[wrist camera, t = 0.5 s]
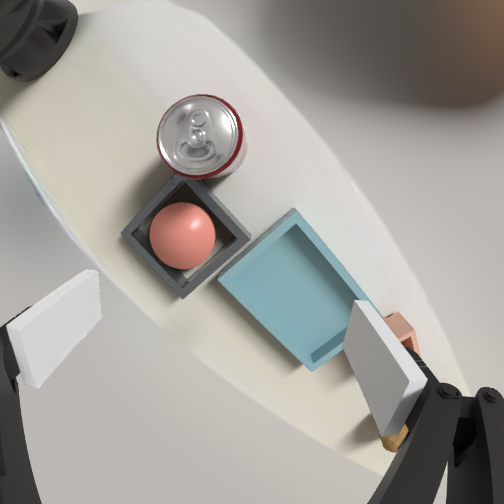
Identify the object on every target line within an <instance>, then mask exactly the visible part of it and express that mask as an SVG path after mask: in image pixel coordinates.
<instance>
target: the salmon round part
mask: <svg viewBox="0 0 504 504" xmlns="http://www.w3.org/2000/svg"><path fill="white" fill-rule="evenodd" d="M215 240H216V231H215V226H214V223H213V221H212V219H211V217H210V216H209V214H208V213H207V212H206V211H205V210H204V209H202V208H201V207H199V206H198V205H195V204H193V203H189V202H178V203H174V204H171V205H168V206H166V207H165V208H163V209H162V210H160V211H159V212H158V213H157V215H156V216H155V218H154V219H153V221H152V224H151V227H150V242H151V245H152V248H153V250H154V252H155V254H156V255H157V256H158V258H159V259H160V260H161V261H163V262H164V263H165V264H167V265H169V266H171V267H174V268H177V269H190V268H193V267H196V266H198V265H200V264H201V263H203V262H204V261H205V260H206V259H207V258H208V256H209V255H210V253H211V251H212V249H213V247H214V245H215Z"/></svg>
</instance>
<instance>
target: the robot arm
mask: <svg viewBox="0 0 504 504" xmlns="http://www.w3.org/2000/svg"><path fill="white" fill-rule="evenodd" d="M77 20H78V13H77V9H76V7H75V6H74V5H73V4H72V3H71V2H70V1H68V0H0V69H1V70H2V71H3V72H4V73H5V74H6V75H7V76H9V77H10V78H12V79H16V80H19V81H29V80H32V79H35V78H37V77H39V76H40V75H42V74H43V73H44V72H46V71H47V70H48V69H49V68H50V67H51V66H52V65H53V64H54V63H55V62H56V61H57V60H58V59H59V58H60V56H61V55H62V54H63V52H64V51H65V49H66V48H67V46H68V45H69V43H70V41H71V39H72V37H73V35H74V32H75V29H76V26H77ZM101 319H102V314H101V304H100V292H99V279H98V271H94V270H88V269H86V270H84V271H83V272H81V273H80V274H78V275H77V276H75V277H74V278H72V279H71V280H69V281H68V282H66V283H65V284H63V285H62V286H60V287H59V288H57V289H56V290H55V291H53V292H52V293H50V294H49V295H47V296H46V297H44V298H43V299H42V300H40V301H39V302H37V303H36V304H35V305H32V306H30V307H27V308H26V309H25V310H23V311H22V312H21V313H19V314H18V315H17V316H16V317H14V318H12V319H11V320H10V321H8V322H7V323H6V324H4V325H3V326H2V327H0V504H42V503H41V500H40V497H39V494H38V490H37V487H36V484H35V480H34V476H33V473H32V469H31V464H30V460H29V456H28V451H27V446H26V441H25V435H24V429H23V423H22V417H21V409H20V399H19V389H18V383H17V380H16V376H17V375H18V374H19V373H21V376H22V379H23V381H24V384H25V385H28V386H30V387H32V388H35V389H37V390H38V389H39V388H40V386H41V385H42V384H43V383H44V382H45V380H46V379H47V378H48V377H49V376H50V375H51V374H52V372H53V371H54V370H55V369H56V368H57V367H58V366H59V365H60V363H61V362H62V361H63V360H64V359H65V358H66V357H67V355H68V354H69V353H70V352H71V351H72V350H73V349H74V348H75V347H76V345H77V344H78V343H79V342H80V341H81V340H82V339H83V338H84V337H85V336H86V335H87V334H88V332H89V331H90V330H91V329H92V328H93V327H94V326H95V325H96V324H97V323H98V322H99V321H100V320H101ZM342 347H343V349H344V352H345V354H346V356H347V358H348V361H349V363H350V365H351V367H352V369H353V372H354V374H355V376H356V379H357V381H358V383H359V385H360V388H361V390H362V392H363V395H364V397H365V399H366V402H367V404H368V406H369V409H370V411H371V413H372V416H373V418H374V420H375V423H376V425H377V428H378V430H379V432H380V435H381V437H385V436H392V435H399V433H400V431H401V430H402V428H403V426H404V424H405V425H406V427H407V429H408V432H407V434H406V436H405V437H404V439H403V440H402V442H401V444H400V445H399V447H398V448H397V449H398V452H397V453H396V455H395V457H394V459H393V461H392V463H391V465H390V467H389V468H388V470H387V472H386V474H385V476H384V477H383V479H382V481H381V483H380V484H379V486H378V487H377V489H376V491H375V493H374V494H373V496H372V497H371V499H370V500H369V502H368V503H367V504H433V502H434V499H435V497H436V494H437V491H438V488H439V486H440V483H441V480H442V477H443V474H444V471H445V468H446V464H447V461H448V477H447V497H446V504H504V398H503V397H502V395H501V394H500V393H499V392H498V391H497V390H495V389H494V388H489V387H483V388H480V389H479V390H478V392H477V394H476V396H475V397H465V396H462V394H461V392H460V391H459V390H458V389H457V388H456V387H455V386H453V385H451V384H447V383H439V381H438V380H437V379H436V377H435V376H434V375H433V373H432V372H431V371H430V369H429V368H428V367H426V364H425V363H424V361H422V359H421V358H420V356H419V355H418V354H417V353H416V352H415V351H413V350H412V349H410V348H409V347H404V346H403V345H402V344H401V342H400V341H399V340H398V339H397V337H396V336H395V335H394V333H393V332H392V331H391V329H390V328H389V327H388V326H387V324H386V323H385V322H384V320H383V319H382V318H381V317H380V315H379V314H378V313H377V312H376V310H375V309H374V308H373V307H372V305H371V304H370V303H369V302H368V301H363V300H354V303H353V307H352V311H351V315H350V319H349V323H348V327H347V331H346V334H345V338H344V342H343V345H342Z"/></svg>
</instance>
